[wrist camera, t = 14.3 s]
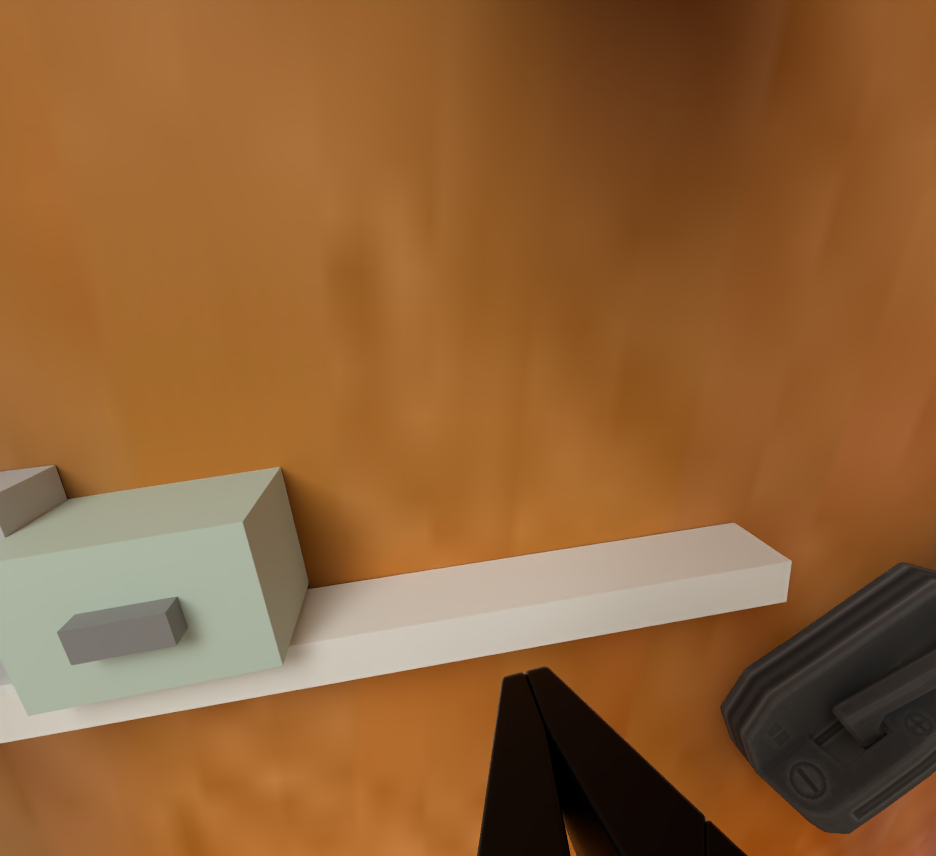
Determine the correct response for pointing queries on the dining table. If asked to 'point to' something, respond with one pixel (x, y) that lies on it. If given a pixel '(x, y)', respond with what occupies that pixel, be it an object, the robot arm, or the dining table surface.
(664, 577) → the cleat board
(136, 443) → the dining table surface
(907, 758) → the dark grey elongated piece
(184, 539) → the cabinet block
